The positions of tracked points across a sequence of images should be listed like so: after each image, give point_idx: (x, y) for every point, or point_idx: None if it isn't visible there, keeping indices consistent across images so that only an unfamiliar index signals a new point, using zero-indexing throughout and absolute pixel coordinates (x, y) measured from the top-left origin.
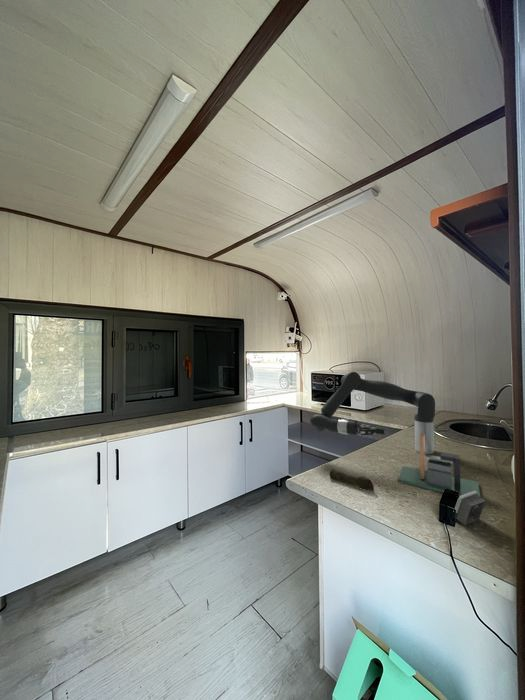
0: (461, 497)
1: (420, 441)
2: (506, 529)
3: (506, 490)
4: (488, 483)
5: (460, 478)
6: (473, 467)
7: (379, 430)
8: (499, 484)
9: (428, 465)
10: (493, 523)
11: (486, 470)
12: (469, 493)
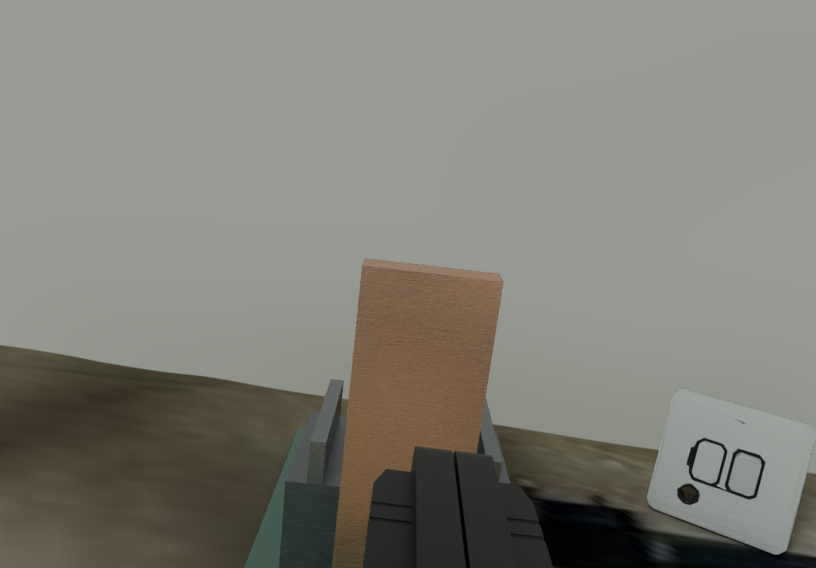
0: (810, 425)
1: (494, 323)
2: (651, 450)
3: (307, 395)
4: (258, 416)
5: (286, 467)
6: (37, 418)
7: (532, 531)
8: (251, 396)
9: (498, 475)
10: (646, 466)
11: (79, 394)
12: (735, 403)
